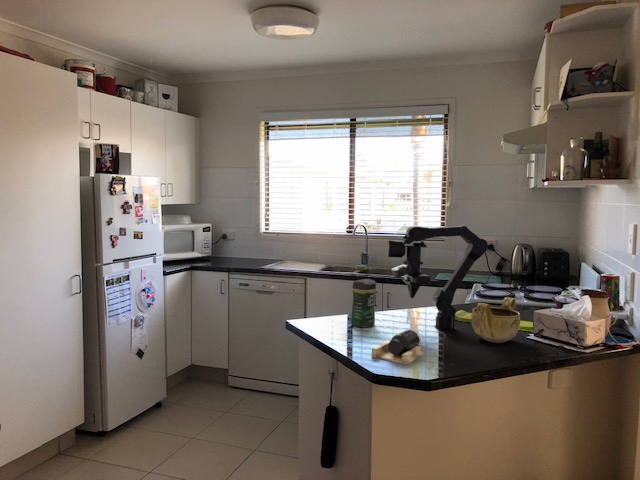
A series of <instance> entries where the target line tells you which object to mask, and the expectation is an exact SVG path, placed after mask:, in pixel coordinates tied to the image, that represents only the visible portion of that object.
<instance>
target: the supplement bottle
mask: <svg viewBox="0 0 640 480" xmlns="http://www.w3.org/2000/svg"><path fill="white" fill-rule="evenodd" d="M390 340H391V341H390V342H389V344H388V349H389V352H390V353H391V354H393V355H400V356H402V354H404V353H406V352H407V351H409V350H411V349H413V348H414V347H416V346H418V345H420V344H421V343H420V336H419V335H418V333H417V332H416V331H414V330H411V329H407V330H404V331H401V332H400V333H397V334H395V335H393V336H392V338H391V339H390Z"/></svg>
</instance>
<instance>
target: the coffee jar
mask: <svg viewBox="0 0 640 480" xmlns="http://www.w3.org/2000/svg"><path fill="white" fill-rule="evenodd" d="M351 290H352V308H351V309H352V310H351V317H350V319H351V320H350V324H351V325H352V326H353V327H356V328H369V327H371V326H374V325H375V324H376V320H375V319H376V317H375V316H376V314H375V309H376V308H375V297H376V291H377V281H375V280H374V279H370V278H364V279H363V278H362V279H358V280H357V279H356V280H354V281H353V282H352V289H351Z"/></svg>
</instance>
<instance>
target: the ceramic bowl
mask: <svg viewBox="0 0 640 480" xmlns="http://www.w3.org/2000/svg"><path fill="white" fill-rule="evenodd" d="M515 306H516V299H515V298H513V297H508V296H507V297H504V299H502V303H501V306H497V307H496V306H490V304H489V303H483V302H482V303H481V302H478V303H477V305H476V307H473V308H472V311H471V313H472V315H471V321H472V323H471V326H472V328H473V331H474V333H475V334H477V335H478V337H480V338H481V339H482V340H485V341H487V342H489V343H494V344H503V343H506V342H509V341H510V340H513V338H515V337H516V336H517V334H518V332H519V331H518V330H519V327H520V321H521V314H520V312H519V311H517V310H515Z"/></svg>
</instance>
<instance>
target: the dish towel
mask: <svg viewBox="0 0 640 480" xmlns="http://www.w3.org/2000/svg"><path fill="white" fill-rule="evenodd" d="M471 315H472V312H467V311H465V310H463V309H462V310H458V311H456V314H455V320H457V321H456V322H459V321H463V322H462V323H466V322H469V323H468V324H472V321H471ZM533 328H534V327H533V322H532V321H527V320H520V327H519V330H522V331H531V332H533ZM522 331H521V332H522Z"/></svg>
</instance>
